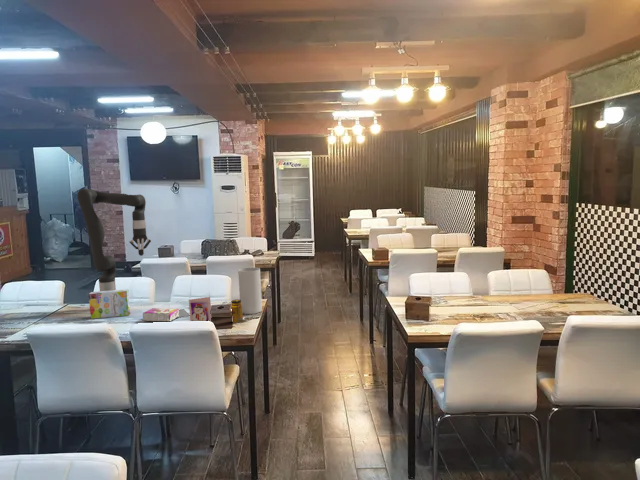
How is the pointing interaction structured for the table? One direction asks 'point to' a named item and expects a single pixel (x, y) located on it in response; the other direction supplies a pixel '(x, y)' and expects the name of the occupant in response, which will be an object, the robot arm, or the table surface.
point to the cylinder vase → (250, 290)
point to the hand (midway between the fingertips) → (141, 255)
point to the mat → (183, 313)
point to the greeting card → (200, 309)
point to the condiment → (237, 312)
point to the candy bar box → (160, 314)
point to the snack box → (109, 303)
